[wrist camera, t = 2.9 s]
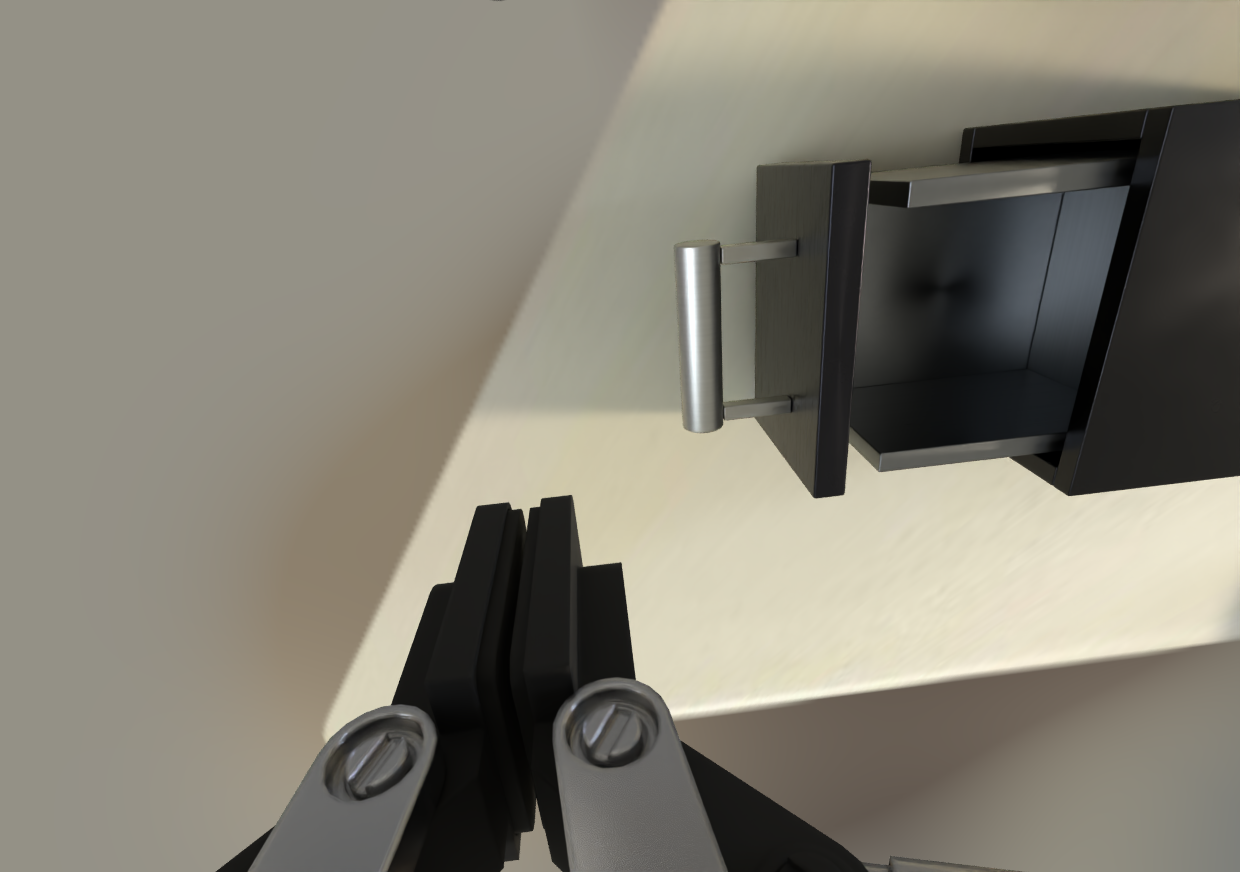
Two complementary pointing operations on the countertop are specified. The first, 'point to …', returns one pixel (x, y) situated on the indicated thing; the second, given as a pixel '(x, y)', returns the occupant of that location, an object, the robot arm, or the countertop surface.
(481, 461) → the countertop surface
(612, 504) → the countertop surface
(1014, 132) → the cabinet
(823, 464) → the drawer
